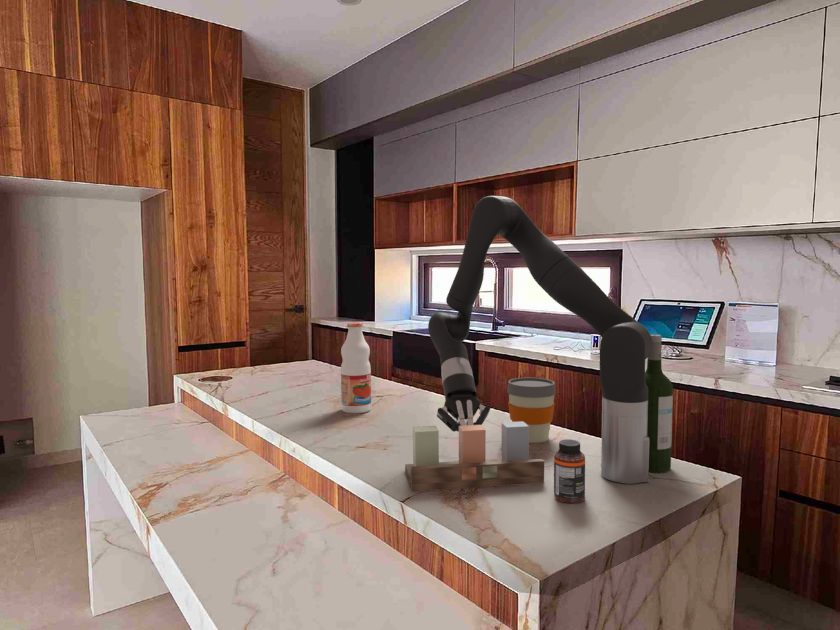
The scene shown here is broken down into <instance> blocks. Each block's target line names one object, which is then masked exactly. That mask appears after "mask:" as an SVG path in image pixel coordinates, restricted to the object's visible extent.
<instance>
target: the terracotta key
mask: <svg viewBox="0 0 840 630" xmlns="http://www.w3.org/2000/svg"><path fill="white" fill-rule="evenodd" d="M482 425H483V424H482ZM482 425H465V426H459V432H458V461H459V464H464V463H481V462H485V460H486V457H487V456H486V454H487V453H486V452H487V451H486V447H487V446H486V444H487V443H486V439H487V438H486V436H487V435H486V431H487V430H486V429H485V428H484V426H482Z"/></svg>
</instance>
